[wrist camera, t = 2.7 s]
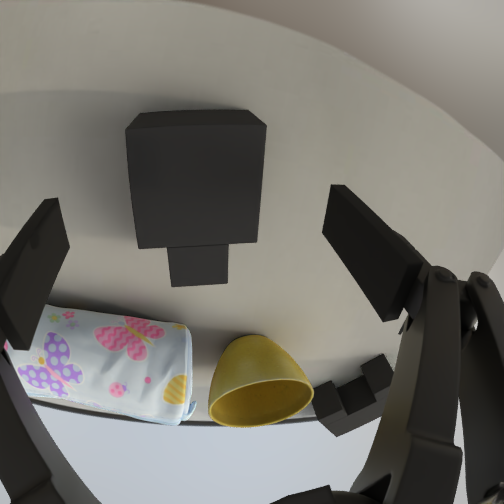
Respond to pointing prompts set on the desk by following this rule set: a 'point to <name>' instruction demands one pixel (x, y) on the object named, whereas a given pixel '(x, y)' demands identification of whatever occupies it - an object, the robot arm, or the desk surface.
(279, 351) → the flower pot
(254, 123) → the tab pad
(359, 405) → the notch pad
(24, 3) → the desk surface
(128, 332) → the pencil case
